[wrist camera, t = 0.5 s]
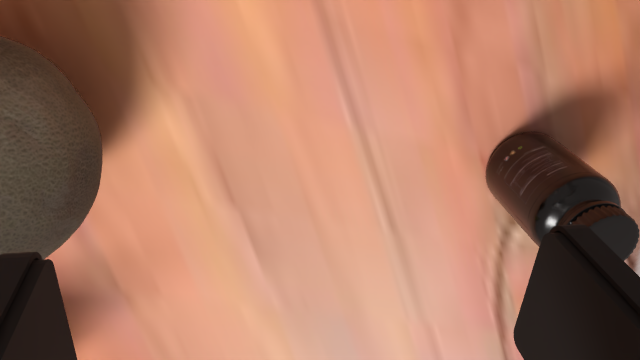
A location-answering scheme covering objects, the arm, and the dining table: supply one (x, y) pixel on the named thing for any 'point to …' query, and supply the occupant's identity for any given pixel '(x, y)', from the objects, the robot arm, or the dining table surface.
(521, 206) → the supplement bottle
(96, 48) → the dining table surface
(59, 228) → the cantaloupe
